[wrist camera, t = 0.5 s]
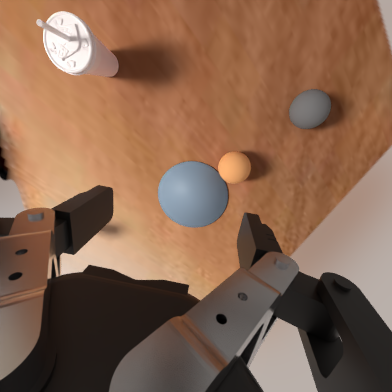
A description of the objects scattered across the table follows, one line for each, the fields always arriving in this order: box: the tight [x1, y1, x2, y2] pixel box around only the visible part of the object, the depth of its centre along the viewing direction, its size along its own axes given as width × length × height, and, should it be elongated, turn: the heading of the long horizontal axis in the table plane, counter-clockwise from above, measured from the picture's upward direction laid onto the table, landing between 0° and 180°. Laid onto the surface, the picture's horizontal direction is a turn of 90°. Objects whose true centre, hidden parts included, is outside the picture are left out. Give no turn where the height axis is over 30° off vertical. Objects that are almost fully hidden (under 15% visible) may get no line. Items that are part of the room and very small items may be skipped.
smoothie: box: [37, 11, 119, 77], centre depth 27 cm, size 6×6×14 cm
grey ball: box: [289, 89, 331, 129], centre depth 30 cm, size 6×6×6 cm
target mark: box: [158, 161, 228, 227], centre depth 40 cm, size 14×14×1 cm
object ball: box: [218, 151, 251, 184], centre depth 34 cm, size 6×6×6 cm
